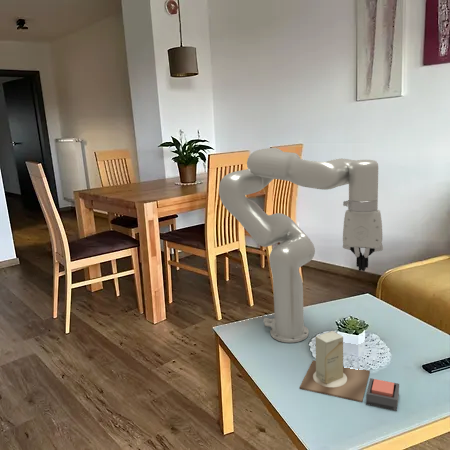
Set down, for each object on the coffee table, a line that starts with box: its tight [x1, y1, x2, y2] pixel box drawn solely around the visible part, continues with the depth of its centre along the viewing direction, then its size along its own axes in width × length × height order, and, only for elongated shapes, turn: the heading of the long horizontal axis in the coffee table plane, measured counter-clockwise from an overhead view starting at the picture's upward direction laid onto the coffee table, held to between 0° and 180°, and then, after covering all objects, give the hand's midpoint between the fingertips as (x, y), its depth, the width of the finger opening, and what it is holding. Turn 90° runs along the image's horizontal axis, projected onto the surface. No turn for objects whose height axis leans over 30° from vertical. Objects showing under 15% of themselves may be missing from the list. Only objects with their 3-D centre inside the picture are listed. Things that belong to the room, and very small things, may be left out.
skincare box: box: [315, 330, 344, 384], centre depth 115 cm, size 6×4×12 cm
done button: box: [372, 378, 395, 397], centre depth 106 cm, size 5×5×2 cm
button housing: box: [365, 377, 400, 412], centre depth 106 cm, size 7×7×3 cm
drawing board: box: [299, 359, 371, 403], centre depth 116 cm, size 16×14×1 cm
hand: (362, 269), depth 121 cm, fingers closed
